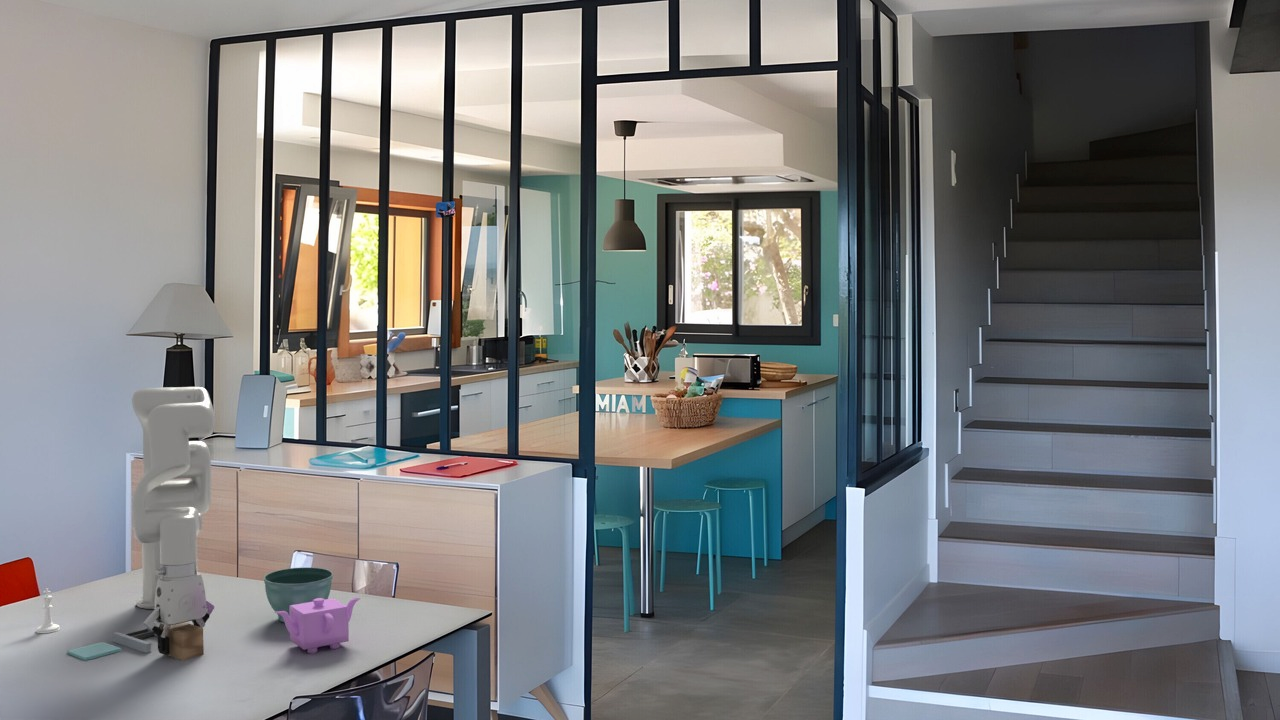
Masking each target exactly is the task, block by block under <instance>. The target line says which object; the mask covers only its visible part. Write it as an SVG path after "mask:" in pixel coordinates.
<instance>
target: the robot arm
mask: <svg viewBox="0 0 1280 720" xmlns="http://www.w3.org/2000/svg"><path fill="white" fill-rule="evenodd" d="M210 397H211V396H210V394H209V391H208V390H207V389H206V388H204V387H202V386H201V387H200V386H181V387H180V386H178V387H177V386H176V387H175V386H174V387H173V386H170V387H167V386H166V387H165V386H164V387H146V388H139V389H138V390H136V391H134V392H133V394H132V398H131V405H132V409H133V412H134V414H135V415H136V417H137V419H138V421H139V423H140V425H141V427H142V465H143V471H144V475H143V476H142V478H141V479H140V480H139V482H138V483H137V485H136V487H135V490H134V492H133V495H132V500H131V512H132V513H131V514H132V515H131V517H132V529H133V536H134V538H135V539H136V541H137V542H139V543H141V558H142V559H141V560H142V561H141V562H142V563H141V564H142V565H141V567H142V570H141V571H142V572H141V573H142V596H141V597H139V598H138V599H137V600H136V606H137V607H138V608H141V609H145V610H153V611H152V612H151V613H150V614H149V615H148V616H147V618H145V620H144V621H143V625H144V626H145V627H146V629H147V628H149V629H150V631H152V632H153V633H154V634H155V635H156V636H155V637H156V638H157V651H158V653H159V654H162V655H163V656H169V653H170V647H169V637H168V636H167V633H168V631H169V629H170V626H173V625H177V624H181V623H189V622H192V623H191V624H192V625H195V626H199V627H202V628H203V629H204V628H205V626H206V623H207V621H208V620H209V619H210V615H211V614H212V612H213V611H214V610H215V605H214V604H212V603H211V602H209V601H208V600H207V598H206V589H205V585H204V580H203V576H202V573H201V572H198V535H199V533H200V532H202V528H203V517H202V515H204V514H206V513H207V512H208V511H209V509H210V508H211V500H212V499H211V497H212V496H211V495H212V491H211V490H212V457H211V451H210V448H209V446H208V445H207V443H205V442H203V441H201V440H190V439H192V438H193V439H195V438H208V437H210V436H212V435H213V433H214V430H215V425H216V419H215V418H216V417H215V412H214V411H215V410H214V407H213V404H212V400H211V398H210ZM155 623H158V624H157V625H156V624H155Z"/></svg>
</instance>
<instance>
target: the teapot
mask: <svg viewBox="0 0 1280 720" xmlns="http://www.w3.org/2000/svg"><path fill="white" fill-rule="evenodd" d="M361 599H362V597H355V598H351V599H350V600H349V601H348V603H347V605H346V604H344V603H343V602H341V601H339V600H338V599H335V598H333V597H332V598H328V599H323V598H317V599H314V600H313V602H307V603H301V604H296V605H290V616H289V615H288V613H287V612H285V611H277V612H275V611H274V613H275V614H277V615H278V614H280V615H281V616H282V617H283V619H284V622H283V623H284V624H285V626H286V629H287V631H288V632H289V640H290V641H291V642H292V643H293V644H295V645H296V646H297V647H298V648H301V649H302V650H303V651H306V650H307V651H306V653H307V654H315V653H317V652H318V648H321V647H325V646H329V649H331V650H333V649H334V650H336V649H340V648H341V646H340V644H341V643H346V642H349V632H350V631H349V630H350V629H349V622H350V620H351V619H352V615H353V609H354V606H355V605H356V603H357V602H358V601H360V600H361Z"/></svg>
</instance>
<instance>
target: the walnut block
mask: <svg viewBox="0 0 1280 720" xmlns="http://www.w3.org/2000/svg"><path fill="white" fill-rule="evenodd" d="M167 636H168V637H169V647H170V653H169V655H168V656H169V657H171V658H175V659H177V660H181V661H185V660H189V659H191V658H195V657H199V656H203V655H205V654H204V653H205V652H204V649H205V648H204V627H203V628H202V627H199V626H195V625H194V624H193V623H189V622H184V623H180V624H176V625H171V626H170V629H169V631H168V633H167Z"/></svg>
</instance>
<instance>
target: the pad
mask: <svg viewBox="0 0 1280 720" xmlns="http://www.w3.org/2000/svg"><path fill="white" fill-rule="evenodd" d="M120 652H122V648H121V647H119V646H115V645H112V644H110V643H107V642H105V641H101V642H95V643H93V644H88V645H85V646H81V647H76V648H73V649H69V650H66V654H67V655H70V656H72V657H75V658H78V659H80V660H83V661H89V660H93V659H97V658H99V657H104V656H108V655H111V654H116V653H120Z"/></svg>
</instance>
